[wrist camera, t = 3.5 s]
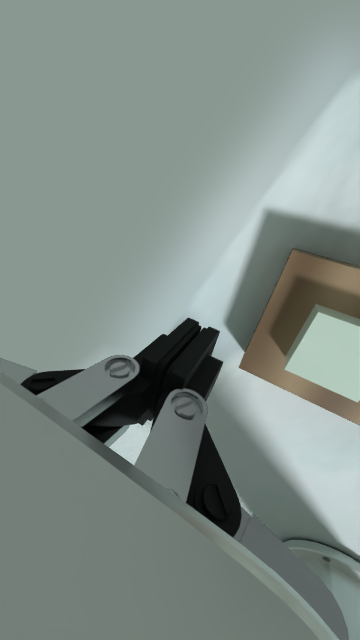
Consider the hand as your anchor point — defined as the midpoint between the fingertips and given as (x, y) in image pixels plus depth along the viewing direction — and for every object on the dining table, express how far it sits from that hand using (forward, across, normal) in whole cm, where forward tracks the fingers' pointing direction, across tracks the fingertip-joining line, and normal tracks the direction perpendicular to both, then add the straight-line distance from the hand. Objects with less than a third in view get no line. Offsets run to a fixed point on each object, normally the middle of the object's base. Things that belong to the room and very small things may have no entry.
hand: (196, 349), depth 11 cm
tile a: (+9, -8, +1) cm, 12 cm away
